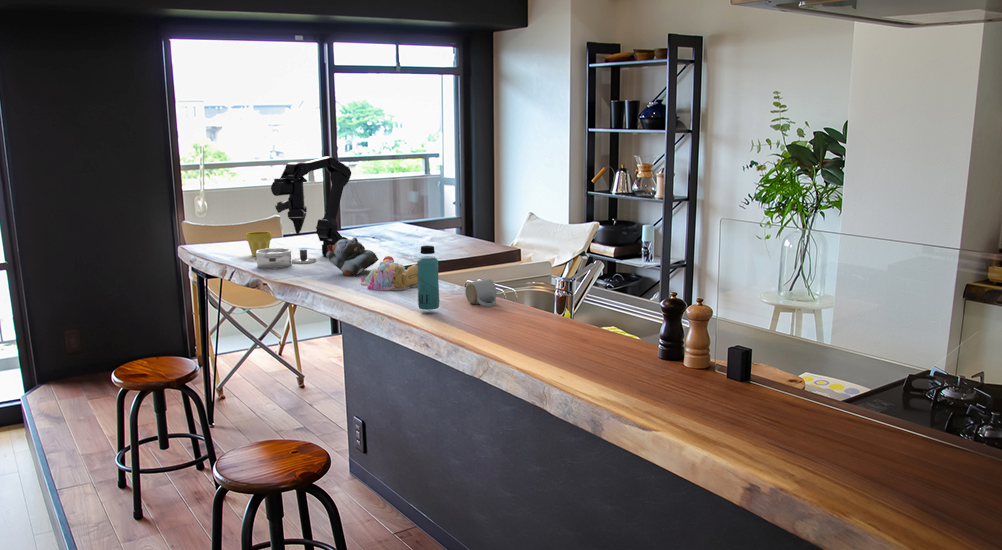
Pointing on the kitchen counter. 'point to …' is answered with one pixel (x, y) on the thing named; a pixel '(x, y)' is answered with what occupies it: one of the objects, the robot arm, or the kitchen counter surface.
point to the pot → (273, 258)
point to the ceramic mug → (481, 292)
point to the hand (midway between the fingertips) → (298, 232)
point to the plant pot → (258, 240)
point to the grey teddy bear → (350, 256)
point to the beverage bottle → (428, 280)
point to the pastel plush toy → (391, 276)
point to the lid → (303, 258)
